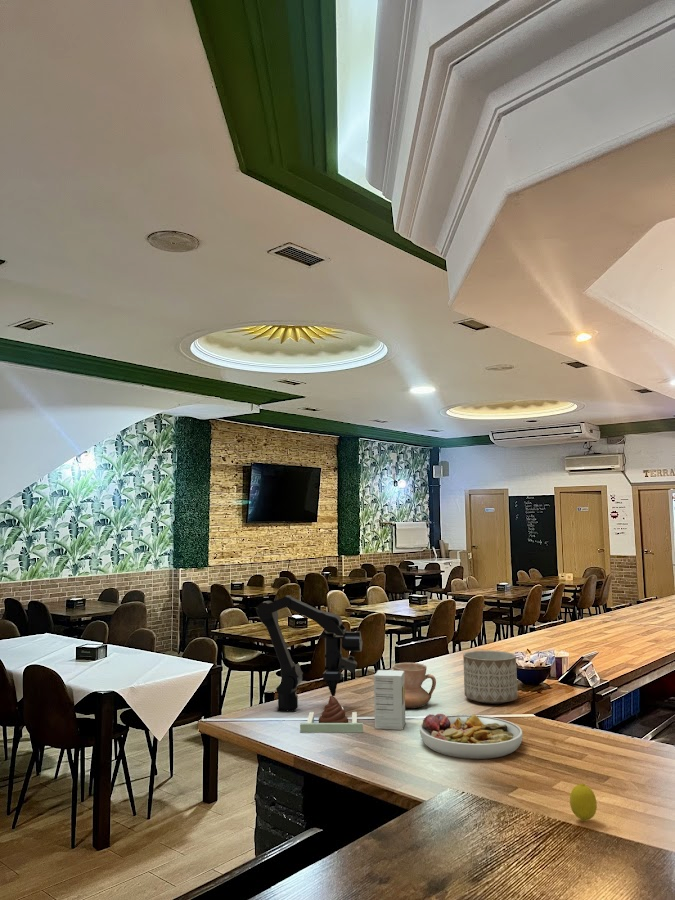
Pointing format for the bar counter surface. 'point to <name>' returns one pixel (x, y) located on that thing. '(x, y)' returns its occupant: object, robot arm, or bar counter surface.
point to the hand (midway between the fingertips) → (333, 695)
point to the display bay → (330, 726)
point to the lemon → (583, 802)
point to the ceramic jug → (415, 684)
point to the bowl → (470, 736)
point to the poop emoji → (333, 712)
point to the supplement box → (389, 699)
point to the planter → (490, 676)
